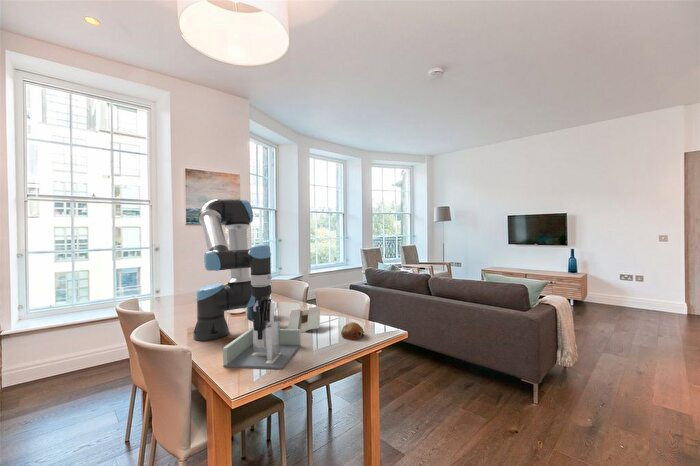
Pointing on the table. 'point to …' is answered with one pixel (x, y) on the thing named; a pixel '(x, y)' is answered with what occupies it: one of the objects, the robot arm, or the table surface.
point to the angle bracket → (268, 340)
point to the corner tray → (243, 356)
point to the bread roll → (352, 331)
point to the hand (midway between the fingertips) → (262, 345)
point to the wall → (305, 319)
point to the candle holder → (272, 311)
